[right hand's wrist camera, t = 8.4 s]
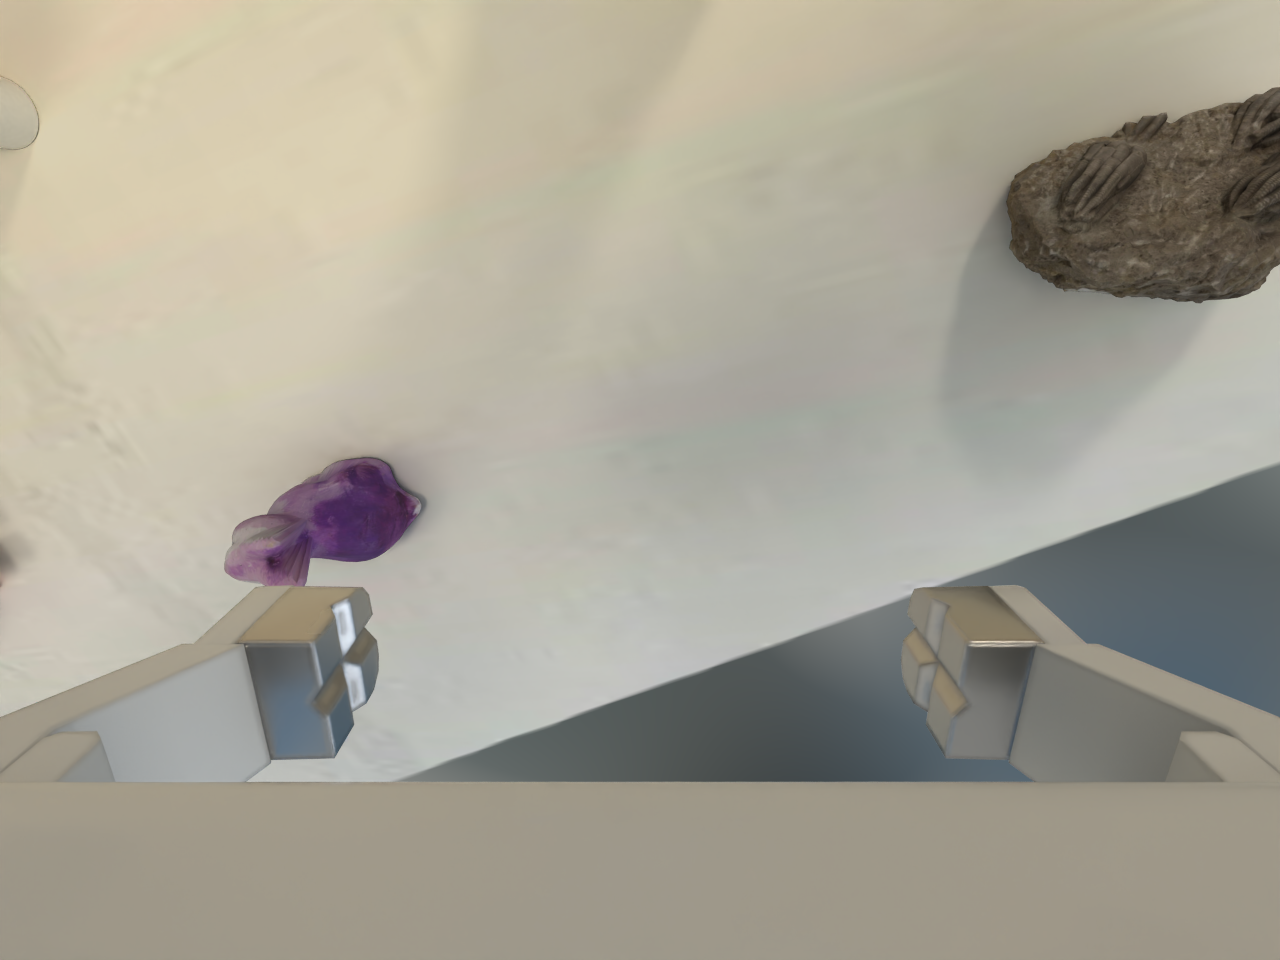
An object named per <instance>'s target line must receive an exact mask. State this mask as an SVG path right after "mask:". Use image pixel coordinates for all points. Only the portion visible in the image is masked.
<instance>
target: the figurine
mask: <svg viewBox="0 0 1280 960" xmlns="http://www.w3.org/2000/svg"><path fill="white" fill-rule="evenodd" d="M420 510H421V503H420V501H419V500H418V499H417V498H416V497H415V496H412V495H411V494H409V493H407V492H406V491H404V490H403V489H401V488H400V487H399V485H398V484H397V483H396V480H395V479H394V477H393V475H392V471H391V469H390V467H389V466H388V465H387V464H386V463H384V462H382V461H380V460H378V459H374V458H360V459H350V460H343V461H339V462H336V463H333V464H331V465H330V466H328V467H326V468H325V469H324V470H323V472H322V473H320V474H319V475H316V476H313V477H310V478H308V479H306V480H305V481H304V482H303V483H302V484H300V485H297V486H295V487H293V488H292V489H290V490H289V491H287V492H286V493H284V494H283V495H281V496H280V497H279V498H278V499H277V500H276V501H275V502H274V503H273V505H272V506H271V508H270V509H269V511H268V513H267V515H260V516H256V517H252V518H250V519H247V520H245V521H243V522H241V523H240V524H239V525H238V526H237V527H236V528H235V530H234V532H233V535H232V546H231V547H230V548H229V550H228V551H227V553H226V557H225V563H224V570H225V572H226V573H227V574H229V575H230V576H231V577H233V578H235V579H237V580H241V581H244V582H251V583H260V584H263V585H265V586H286V585H293V586H305V584H306V581H307V575H308V569H309V563H310V558H325V559H332V560H338V561H346V562H360V561H366V560H370V559H373V558H376V557H378V556H380V555H381V554H383V553H384V552H386V551H387V550H388V549H389V548H391V547H392V546H393V545H394V544H395V543H396V542H397V541H398V540H399V539H400V537H401V536H402V534H403V533H404V531H405V530H406V529H407V527H408V526H409V525H410V524H411V523H412V521H413V520H414V519H415V518H416V517H417V516H418V514H419V513H420Z"/></svg>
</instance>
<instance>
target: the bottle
mask: <svg viewBox="0 0 1280 960" xmlns="http://www.w3.org/2000/svg"><path fill="white" fill-rule="evenodd" d="M38 126H39V121H38V115H37V111H36V108H35V106H34V104H33V102H32V100H31V99H30V97H29V96H28V95H27V93H26V92H25V91H24V90H23V89H22V88H21V87H20V86H18V85H17V84H16V83H14V82H12V81H11V80H9V79H6V78H4V77H0V148H5V149H14V150H16V149H21V148H24V147H26V146H28V145H29V144H31V143H32V142H33V140H34V139H35V137H36V135H37V132H38Z"/></svg>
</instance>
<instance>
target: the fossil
mask: <svg viewBox="0 0 1280 960" xmlns="http://www.w3.org/2000/svg"><path fill="white" fill-rule="evenodd" d="M1167 118H1168V117H1167V112H1166V113H1161V114H1159V115H1158V116H1143V117H1142V118H1141V120H1140V121H1139V123H1138V124H1137V123H1131V122H1127V123H1125V125H1124V126H1123V128H1122V130H1119V131H1117V132H1116V133H1115V134H1114V135H1113V136H1112V137H1111V138H1110V137H1100V138H1092V139H1089V140H1086V141H1083V142H1082V143H1073V144H1072V145H1071V146H1069V147H1068V148H1067V149H1066V150H1053V151H1052V152H1051V153H1050V155H1049V156H1048V157H1047V158H1046V159H1044V160H1042V161H1040V162H1036V163H1032V164H1031V165H1030V166H1029V167H1028V168H1026V169H1025V170H1023V171H1022V172H1020V173H1018V174H1017V175H1015V179H1014V180H1013V181H1012V182H1011V189H1010V192H1009V195H1008V199H1007V201H1006V202H1007V206H1008V214H1009V217H1010V220H1011V222H1012V228H1011V229H1012V230H1011V233H1012V238H1013V240H1012V241H1011V243H1010V247H1009V248H1010V249H1011V250H1012V251H1013V254H1014V255H1015V257H1016V258H1017V259H1018V260H1019V262H1022V263H1024V265H1025V266H1026V268H1029V269H1030V270H1032V271H1033V272H1037V273H1040V275H1041V276H1042V278H1043V279H1047V280H1048V282H1053V283H1054V285H1055V286H1056V288H1062V289H1063V290H1064V291H1078V292H1098V293H1105V294H1112V295H1114V296H1116V297H1121V298H1123V297H1125V296H1131V297H1150V298H1151V299H1153V298H1157V297H1159V298H1162V299H1165V300H1166V299H1172V300H1175V301H1184V302H1185V301H1194V302H1195V303H1202V302H1203V301H1205V300H1219V299H1231V298H1238V297H1241V296H1244V295H1247V294H1249V293H1251V292H1252V291H1255V290H1257V289H1259V288H1260V287H1261V285H1262V284H1263V283H1264V282H1266V277H1267V276H1268V274H1269V273H1270V271H1271V270H1272V269H1273V268H1274V267H1276V266H1278V265H1279V264H1280V87H1277V88H1272V89H1270V90H1269V91H1267V92H1265V93H1264V94H1255V95H1254V96H1252V97H1251V98H1249V99H1247V100H1246V101H1245V102H1244V103H1225V104H1222V105H1220V106H1217V107H1215V108H1212V109H1206V110H1200V111H1197V112H1193V113H1190V114H1188V115H1186V116H1184V117H1182V118H1180V119H1179V120H1178V121H1176V122H1175V123H1172V124H1169V123H1168V122H1166V120H1167Z"/></svg>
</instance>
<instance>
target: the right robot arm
mask: <svg viewBox="0 0 1280 960" xmlns="http://www.w3.org/2000/svg"><path fill="white" fill-rule="evenodd" d="M372 614H373V613H372V608H371V603H370V598H369V594H368V593H367V592H366V590H365V589H364V588H363V587H320V586H293V585H286V586H261V587H255V588H254V589H253V590H252V591H251V592H250V593H249V594H248V595H247V596H246V597H244V598H243V599H242V600H241V601H240V602H239V603H238V604H237V605H236V606H235V607H233V608H232V609H231V610H230V611H229V612H228V613H227V614H226V615H225V616H224V617H223V618H221V619H220V620H219V621H218V622H217V623H216V624H215V625H214V626H213V627H212V628H210V629H209V630H208V631H207V632H206V633H205V634H204V635H203V636H202V637H201V638H199V639H198V640H197V641H196V642H195V643H194V644H181V645H178V646H176V647H173V648H171V649H168V650H166V651H164V652H161V653H159V654H156V655H154V656H151V657H149V658H146V659H144V660H141V661H139V662H136V663H134V664H131V665H129V666H126V667H124V668H121V669H119V670H116V671H114V672H111V673H109V674H106V675H104V676H102V677H99V678H97V679H94V680H92V681H89V682H87V683H84V684H82V685H79V686H77V687H74V688H72V689H69V690H67V691H64V692H62V693H59V694H57V695H54V696H52V697H49V698H47V699H44V700H42V701H40V702H37V703H35V704H32V705H30V706H27V707H25V708H22V709H20V710H17V711H15V712H12V713H10V714H7V715H5V716H2V717H0V960H1280V717H1277V716H1275V715H1272V714H1270V713H1267V712H1265V711H1262V710H1260V709H1257V708H1255V707H1252V706H1250V705H1247V704H1245V703H1243V702H1240V701H1238V700H1235V699H1233V698H1230V697H1228V696H1225V695H1223V694H1220V693H1218V692H1215V691H1213V690H1210V689H1208V688H1205V687H1203V686H1200V685H1198V684H1196V683H1193V682H1191V681H1188V680H1186V679H1183V678H1181V677H1178V676H1176V675H1173V674H1171V673H1168V672H1166V671H1163V670H1161V669H1158V668H1156V667H1154V666H1151V665H1149V664H1146V663H1144V662H1141V661H1139V660H1136V659H1134V658H1131V657H1129V656H1126V655H1124V654H1121V653H1119V652H1116V651H1114V650H1111V649H1109V648H1107V647H1104V646H1102V645H1099V644H1086V643H1085V642H1084V641H1083V640H1082V639H1081V638H1079V637H1078V636H1077V635H1076V634H1075V633H1074V632H1073V631H1072V630H1071V629H1070V628H1069V627H1067V626H1066V625H1065V624H1064V623H1063V622H1062V621H1061V620H1060V619H1059V618H1058V617H1057V616H1055V615H1054V614H1053V613H1052V612H1051V611H1050V610H1049V609H1048V608H1047V607H1046V606H1044V605H1043V604H1042V603H1041V602H1040V601H1039V600H1038V599H1037V598H1036V597H1035V596H1033V595H1032V594H1031V593H1030V592H1029V591H1028V590H1027V589H1026V588H1024V587H1020V586H1017V585H1009V586H964V587H923V588H917V589H914V591H913V593H912V595H911V598H910V602H909V607H908V613H907V614H908V616H909V617H910V619H911V620H912V622H913V624H914V625H915V628H914V629H913V631H912V632H911V633H910V634H909V635H908V636H907V637H906V638H905V639H904V640H903V647H902V656H901V665H902V675H903V680H904V684H905V687H906V690H907V692H908V694H909V696H910V698H911V700H912V701H913V703H914V704H915V705H917V706H919V707H920V708H922V709H924V710H925V711H927V712H928V715H927V721H926V726H927V727H928V729H929V731H930V732H931V734H932V736H933V737H934V739H935V741H936V743H937V744H938V746H939V748H940V749H941V751H942V753H943V754H944V756H945V758H958V759H993V760H1009V763H1010V764H1011V765H1013V766H1014V767H1015V768H1017V769H1018V770H1019V771H1021V772H1022V773H1023V774H1025V775H1026V776H1027V777H1029V778H1030V779H1031V780H1033V781H1034V782H246V781H248V780H249V779H250V778H252V777H253V776H254V775H256V774H257V773H258V772H260V771H261V770H262V769H264V768H265V767H266V766H268V765H269V764H270V763H271V760H286V759H322V758H335V756H336V755H337V753H338V751H339V749H340V748H341V746H342V744H343V743H344V741H345V739H346V738H347V736H348V734H349V732H350V731H351V729H352V727H353V726H354V721H353V715H352V712H353V711H355V710H357V709H358V708H360V707H361V706H363V705H365V704H366V703H367V701H368V700H369V698H370V696H371V694H372V692H373V690H374V687H375V683H376V679H377V675H378V667H379V653H378V646H377V640H376V639H375V638H374V637H373V636H372V635H371V634H370V633H369V632H368V631H367V629H366V628H365V625H366V624H367V622H368V621H369V619H370V617H371V616H372Z"/></svg>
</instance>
